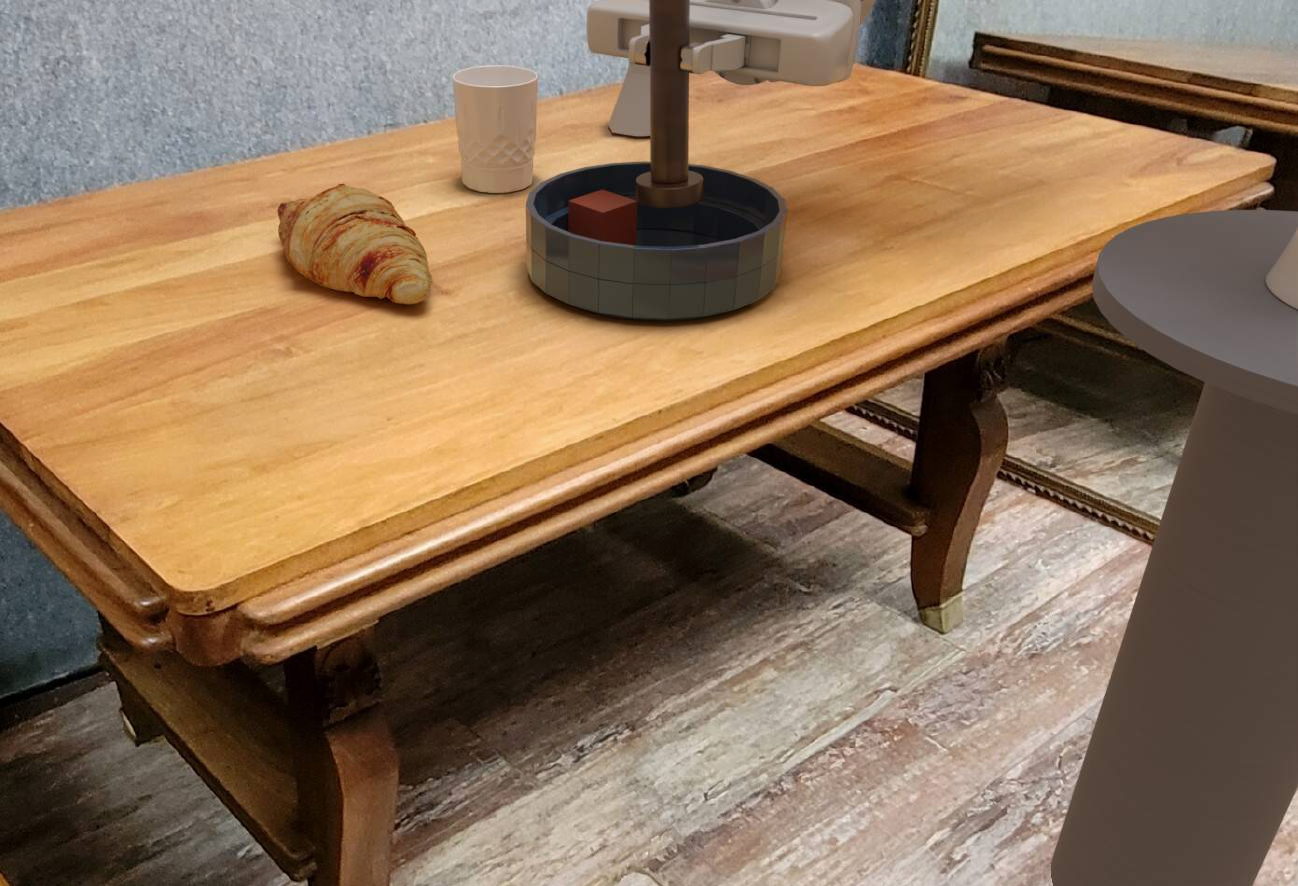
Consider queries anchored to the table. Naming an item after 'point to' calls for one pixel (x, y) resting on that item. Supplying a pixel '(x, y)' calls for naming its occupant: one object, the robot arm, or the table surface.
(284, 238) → the croissant
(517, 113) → the white cup
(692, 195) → the rod
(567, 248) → the bowl
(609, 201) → the block
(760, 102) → the table surface
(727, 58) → the robot arm
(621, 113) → the flask
